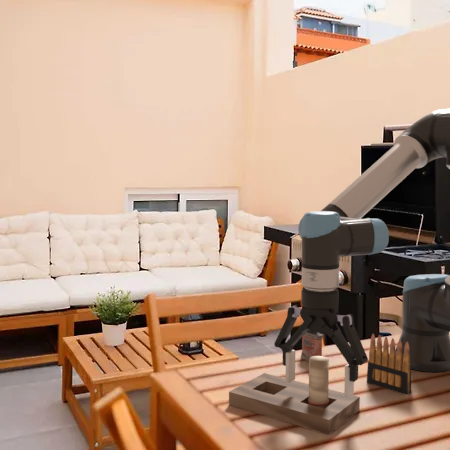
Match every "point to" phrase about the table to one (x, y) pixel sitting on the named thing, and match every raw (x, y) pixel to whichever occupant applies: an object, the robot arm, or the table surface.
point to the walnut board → (293, 403)
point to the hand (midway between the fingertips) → (318, 388)
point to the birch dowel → (318, 381)
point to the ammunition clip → (389, 366)
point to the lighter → (311, 344)
